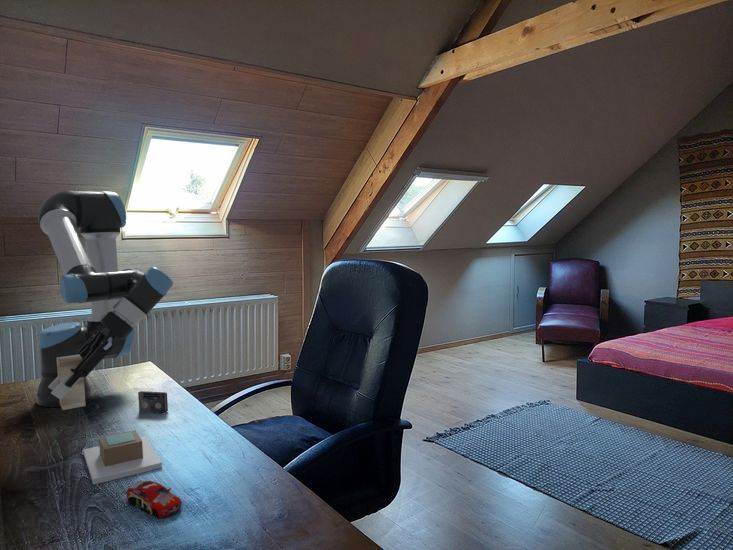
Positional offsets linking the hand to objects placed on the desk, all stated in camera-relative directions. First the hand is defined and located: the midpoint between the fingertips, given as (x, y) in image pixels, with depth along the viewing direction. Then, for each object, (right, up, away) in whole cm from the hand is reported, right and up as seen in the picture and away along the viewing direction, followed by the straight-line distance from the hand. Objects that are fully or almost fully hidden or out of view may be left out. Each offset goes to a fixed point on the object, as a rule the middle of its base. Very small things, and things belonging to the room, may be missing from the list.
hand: (54, 393), depth 134 cm
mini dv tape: (+14, -11, +25) cm, 31 cm away
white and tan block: (+19, -14, -7) cm, 25 cm away
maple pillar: (+3, -4, +3) cm, 5 cm away
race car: (+35, -17, -26) cm, 47 cm away
